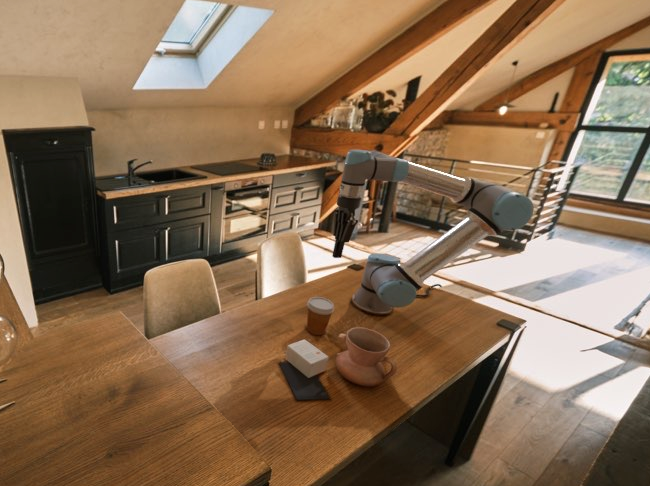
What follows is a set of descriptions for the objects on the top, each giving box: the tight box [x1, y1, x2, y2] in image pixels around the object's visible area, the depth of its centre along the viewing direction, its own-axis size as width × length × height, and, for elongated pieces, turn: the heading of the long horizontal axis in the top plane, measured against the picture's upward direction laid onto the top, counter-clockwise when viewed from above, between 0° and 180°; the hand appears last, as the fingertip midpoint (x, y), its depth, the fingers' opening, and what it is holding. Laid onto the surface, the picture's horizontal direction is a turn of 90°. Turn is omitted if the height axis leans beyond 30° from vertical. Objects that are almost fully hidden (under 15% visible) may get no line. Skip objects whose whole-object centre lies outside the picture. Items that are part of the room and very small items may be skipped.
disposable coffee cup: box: [306, 296, 335, 336], centre depth 141 cm, size 10×10×12 cm
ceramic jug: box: [335, 326, 398, 387], centre depth 119 cm, size 18×14×14 cm
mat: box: [278, 361, 331, 401], centre depth 119 cm, size 16×10×1 cm, turn 4°
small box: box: [285, 339, 330, 378], centre depth 124 cm, size 8×6×10 cm
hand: (336, 256), depth 142 cm, fingers closed
